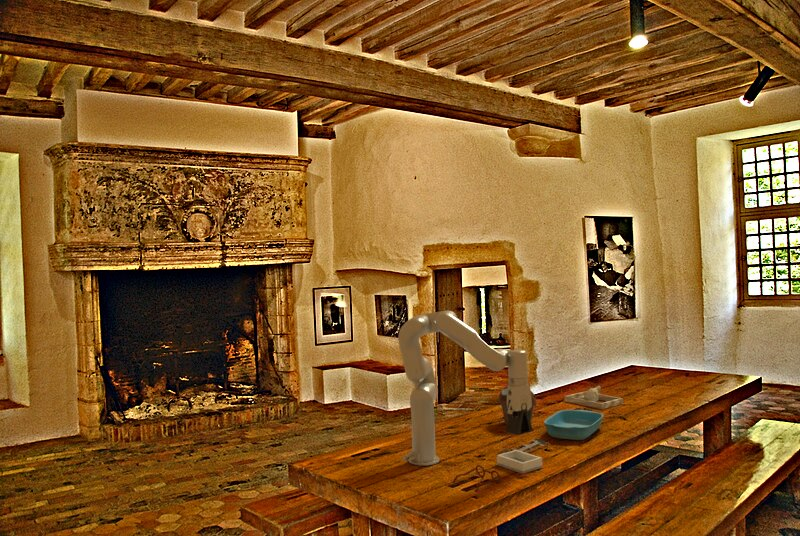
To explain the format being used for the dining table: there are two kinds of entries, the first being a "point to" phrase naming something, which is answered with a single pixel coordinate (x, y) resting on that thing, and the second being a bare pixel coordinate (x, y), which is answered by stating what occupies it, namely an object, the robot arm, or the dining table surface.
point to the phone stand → (519, 423)
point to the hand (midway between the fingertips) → (519, 426)
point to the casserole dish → (573, 424)
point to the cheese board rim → (610, 401)
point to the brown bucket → (504, 404)
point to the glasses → (482, 476)
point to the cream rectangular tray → (519, 461)
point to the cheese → (591, 394)
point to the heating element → (528, 446)
